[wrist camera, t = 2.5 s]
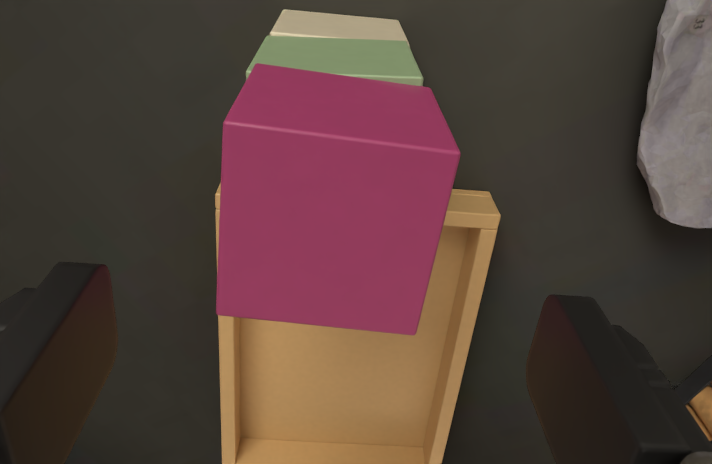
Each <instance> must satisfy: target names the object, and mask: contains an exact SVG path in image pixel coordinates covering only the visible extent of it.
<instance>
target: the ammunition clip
mask: <svg viewBox="0 0 712 464" xmlns="http://www.w3.org/2000/svg"><path fill="white" fill-rule="evenodd" d="M675 391H676V393H677V394H678V396H679V397H680V399H681V400H682V402H683V403H684V404H685V406H686V407H687V409H688V410H689V412H690V413H691V415H692V416H693V418H694V419H695V420H696V422H697V423H698V425H699V426H700V428H701V429H702V431H703V432H704V434H705V435H706V436H707V438H708V439H709V441H710V442H711V444H712V356H711V357H710V358H708V359H707V360H706V361H705V362H704V363H703V364H702V365H701V366H700V367H699V368H698V369H697V370H695V371H694V372H693V373H692V374H691V375H690V376H689V377H688V378H687V379H686V380H685V381H684V382H682V383H681V384H680V385H679V386H678V387H677V388H676V389H675Z"/></svg>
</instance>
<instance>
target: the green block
mask: <svg viewBox="0 0 712 464" xmlns="http://www.w3.org/2000/svg"><path fill="white" fill-rule="evenodd" d="M257 63H259V64H266V65H274V66H281V67H288V68H295V69H302V70H309V71H316V72H323V73H330V74H337V75H344V76H351V77H358V78H365V79H373V80H380V81H387V82H394V83H401V84H408V85H415V86H422V87H423V77H422V74H421V72H420V70H419V68H418V65H417V63H416V61H415V59H414V56H413V54H412V52H411V50H410V48H409V45H408V43H407V41H397V40H371V39H345V38H318V37H292V36H266V38H265V39H264V41H263V43H262V45H261V46H260V48H259V50H258V52H257V53H256V55H255V57H254V59H253V60H252V62H251V64H250V66H249V67H248V69H247V71H246V80H247V78H248V76H249V75H250V73H251V71H252V69H253V67H254V65H255V64H257Z"/></svg>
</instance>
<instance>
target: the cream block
mask: <svg viewBox="0 0 712 464" xmlns="http://www.w3.org/2000/svg"><path fill="white" fill-rule="evenodd" d="M270 36H292V37H318V38H345V39H371V40H397V41H407V38H406V36H405V34H404V32H403V30H402V27H401V25H400V23H399V21H398V20H391V19H381V18H370V17H360V16H349V15H339V14H328V13H317V12H307V11H296V10H286V9H284V10H283V11H282V13H281V14H280V16H279V18H278V20H277V22H276V23H275V25H274V27H273V29H272V31H271V32H270ZM407 43H408V41H407ZM408 45H409V43H408ZM409 48H410V45H409Z"/></svg>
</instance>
